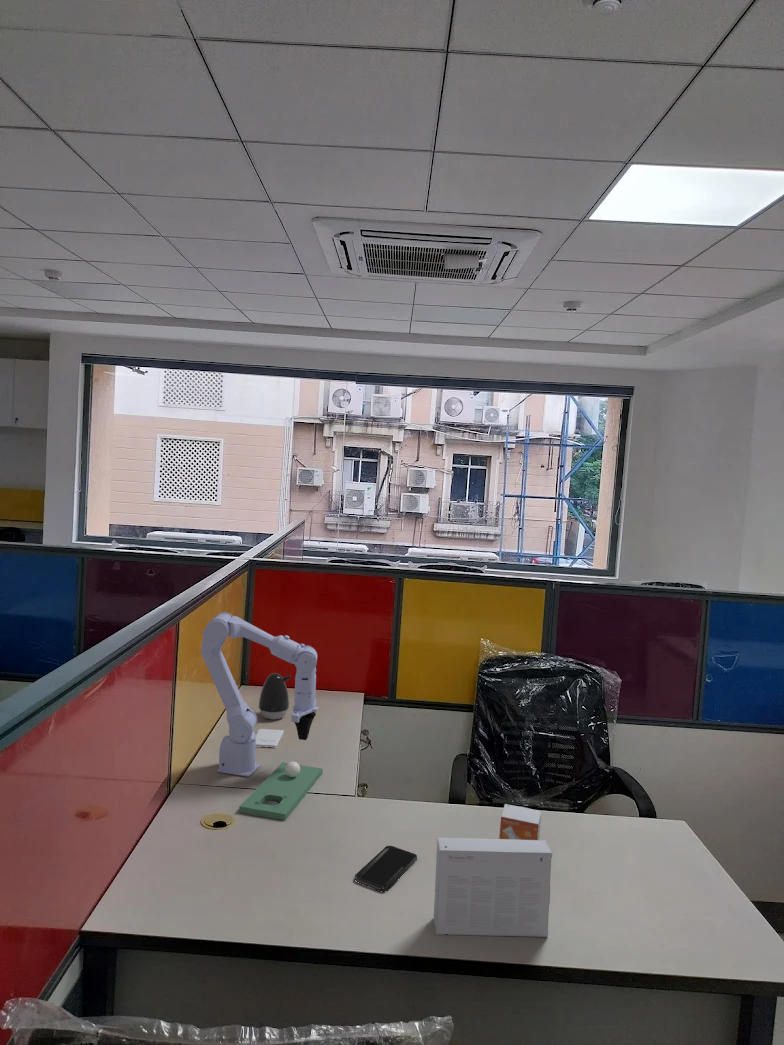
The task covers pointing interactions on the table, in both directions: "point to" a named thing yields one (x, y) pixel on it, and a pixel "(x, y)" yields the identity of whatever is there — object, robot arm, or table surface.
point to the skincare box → (492, 887)
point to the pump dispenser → (274, 697)
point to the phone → (386, 868)
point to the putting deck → (280, 792)
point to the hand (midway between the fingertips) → (303, 738)
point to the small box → (520, 823)
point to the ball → (292, 769)
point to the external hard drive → (268, 737)
